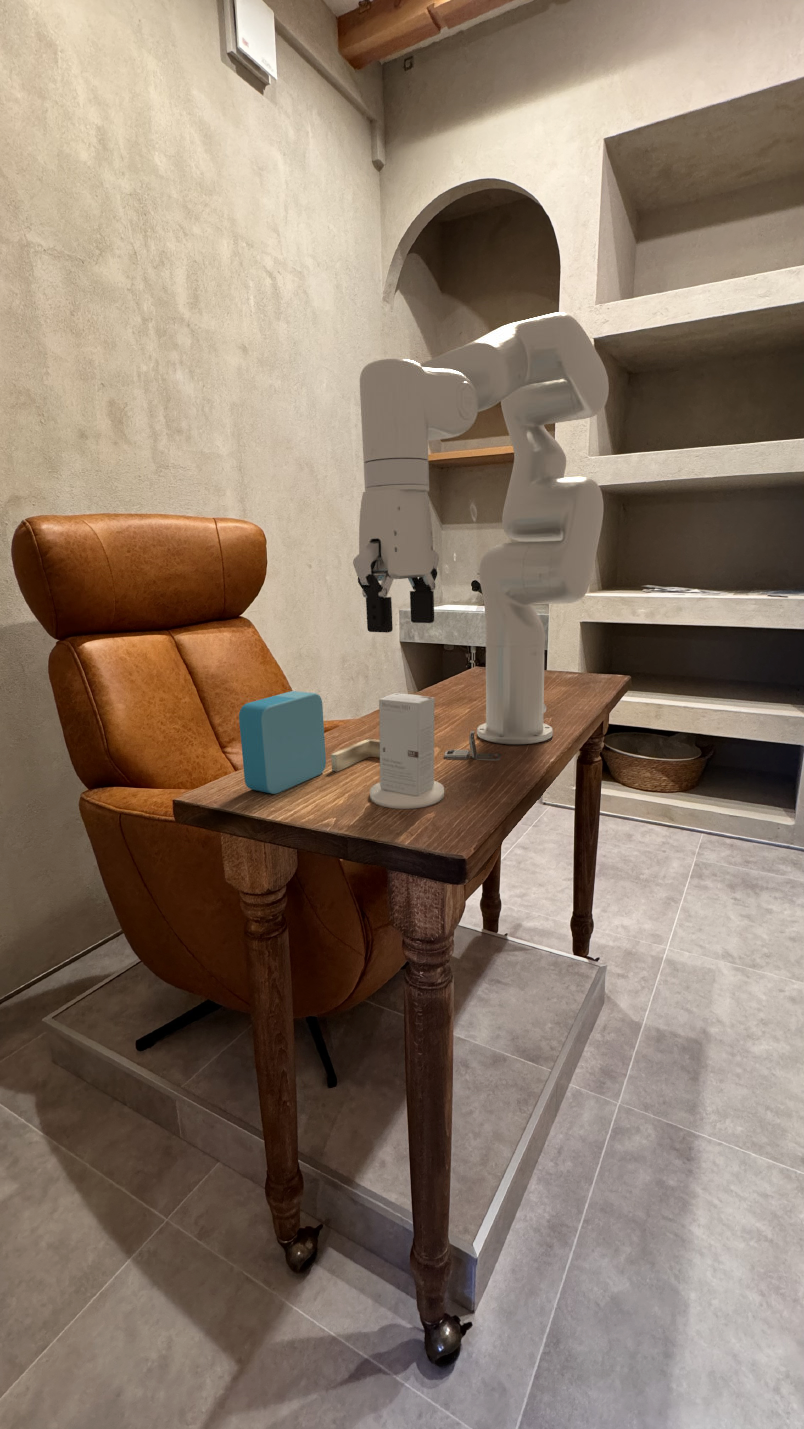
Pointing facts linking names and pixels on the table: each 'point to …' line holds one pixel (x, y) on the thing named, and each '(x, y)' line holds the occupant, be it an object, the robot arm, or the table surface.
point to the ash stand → (355, 754)
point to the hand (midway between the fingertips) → (402, 626)
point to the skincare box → (406, 743)
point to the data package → (282, 741)
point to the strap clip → (466, 753)
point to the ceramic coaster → (406, 797)
